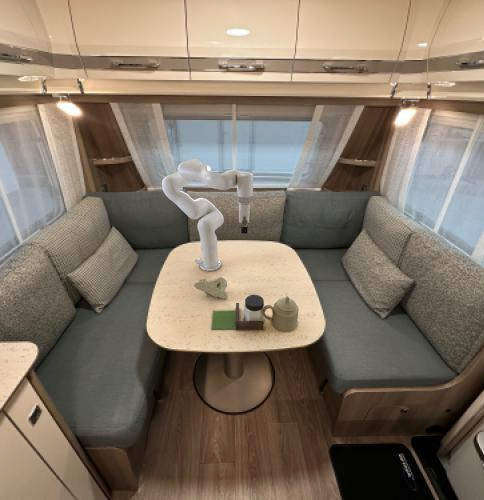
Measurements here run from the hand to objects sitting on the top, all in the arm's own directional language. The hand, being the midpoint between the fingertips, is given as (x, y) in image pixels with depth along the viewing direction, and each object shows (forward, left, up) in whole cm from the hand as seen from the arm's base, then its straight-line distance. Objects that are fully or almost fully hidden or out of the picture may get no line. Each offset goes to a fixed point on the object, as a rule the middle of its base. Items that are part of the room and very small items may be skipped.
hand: (244, 232), depth 138 cm
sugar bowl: (+16, -37, -27) cm, 49 cm away
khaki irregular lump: (-17, -18, -27) cm, 37 cm away
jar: (+4, -35, -27) cm, 45 cm away
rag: (-10, -35, -27) cm, 45 cm away
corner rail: (+2, -35, -27) cm, 44 cm away
